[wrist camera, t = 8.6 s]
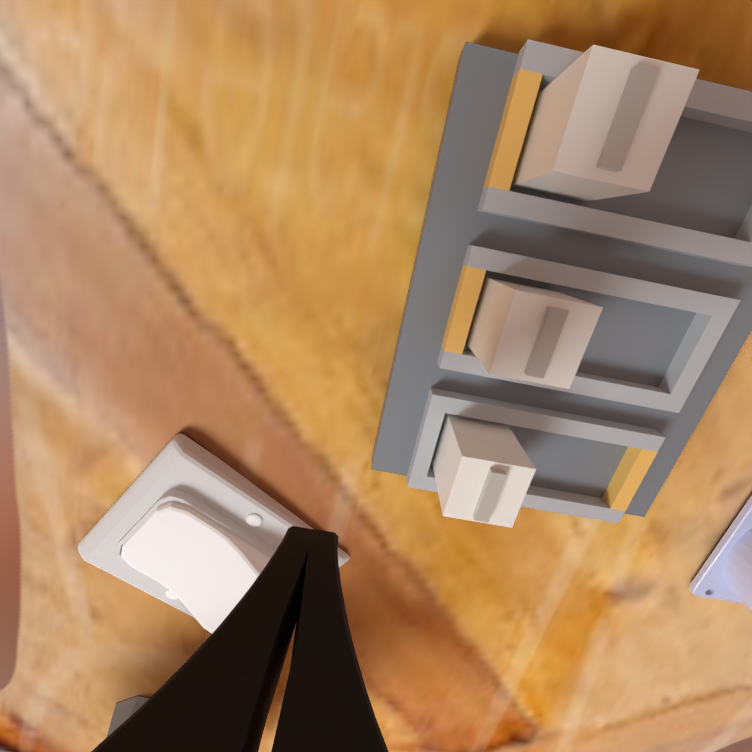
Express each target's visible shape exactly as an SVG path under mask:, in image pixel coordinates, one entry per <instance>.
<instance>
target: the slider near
mask: <svg viewBox="0 0 752 752" xmlns="http://www.w3.org/2000/svg"><path fill="white" fill-rule="evenodd" d="M699 70H700V69H695V68H691V67H687V66H683V65H678V64H674V63H670V62H666V61H661V60H657V59H653V58H648V57H644V56H640V55H636V54H631V53H627V52H623V51H619V50H614V49H610V48H606V47H602V46H597V45H592V46H591V47H590V48H589V49H588V50H586V51H585V52H584V53H583V54H582V55H581V56H580V57H579V58H578V59H576V60H575V61H574V62H573V63H572V64H571V65H570V66H569V67H568V68H567V69H565V70H564V71H563V72H562V73H561V74H560V75H559V76H558V77H557V78H555V79H554V80H553V81H552V82H551V83H550V84H549V85H548V86H547V87H545V88H544V89H543V90H542V91H541V92H540V93H539V95H538V98H537V102H536V105H535V109H534V112H533V116H532V119H531V122H530V126H529V129H528V133H527V136H526V140H525V143H524V147H523V150H522V153H521V157H520V160H519V164H518V167H517V171H516V174H515V178H514V181H513V185H512V186H516V187H521V188H526V189H530V190H535V191H540V192H544V193H549V194H554V195H558V196H563V197H568V198H572V199H577V200H582V201H592V200H599V199H605V198H612V197H618V196H625V195H631V194H638V193H644V192H649V191H650V189H651V186H652V184H653V182H654V179H655V177H656V174H657V172H658V170H659V167H660V165H661V162H662V160H663V157H664V155H665V153H666V150H667V148H668V145H669V143H670V140H671V138H672V136H673V133H674V131H675V128H676V126H677V123H678V121H679V119H680V116H681V114H682V111H683V109H684V107H685V104H686V102H687V99H688V97H689V94H690V92H691V90H692V87H693V85H694V82H695V80H696V77H697V75H698V73H699Z"/></svg>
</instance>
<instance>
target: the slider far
mask: <svg viewBox="0 0 752 752" xmlns="http://www.w3.org/2000/svg"><path fill="white" fill-rule="evenodd" d="M432 465H433V470H434V475H435V480H436V485H437V490H438V494H439V499H440V504H441V509H442V514H443V516H446V517H452V518H458V519H464V520H470V521H476V522H482V523H487V524H493V525H499V526H505V527H511V528H512V526H513V524H514V521H515V519H516V517H517V514H518V512H519V509H520V507H521V504H522V502H523V500H524V497H525V495H526V492H527V490H528V488H529V485H530V483H531V480H532V478H533V476H534V473H535V471H536V468H535V467H534V465H533V464H532V462H531V460H530V459H529V457H528V456H527V454H526V453H525V451H524V449H523V448H522V446H521V445H520V443H519V442H518V440H517V438H516V437H515V435H514V434H513V432H512V431H511V429H510V428H509V426H508V424H502V423H497V422H491V421H486V420H480V419H475V418H469V417H464V416H458V415H453V414H447V416H446V419H445V423H444V426H443V430H442V433H441V437H440V440H439V443H438V447H437V450H436V454H435V457H434V461H433V464H432Z"/></svg>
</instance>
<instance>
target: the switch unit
mask: <svg viewBox="0 0 752 752" xmlns="http://www.w3.org/2000/svg"><path fill="white" fill-rule="evenodd" d="M583 53H584V52H581V51H576V50H572V49H568V48H564V47H559V46H555V45H551V44H546V43H542V42H538V41H534V40H529V39H528V40H527V41H526V43H525V44H524V45H523V47H522V48H521V49H520V51H519V54H517V53H513V52H508V51H504V50H500V49H495V48H491V47H487V46H482V45H478V44H474V43H470V42H466V43H465V45H464V48H463V50H462V52H461V55H460V57H459V62H458V66H457V71H456V75H455V80H454V84H453V89H452V94H451V98H450V103H449V107H448V112H447V116H446V121H445V126H444V130H443V135H442V139H441V144H440V148H439V153H438V158H437V162H436V167H435V171H434V176H433V180H432V185H431V190H430V194H429V199H428V203H427V208H426V212H425V217H424V222H423V226H422V231H421V235H420V240H419V244H418V249H417V254H416V258H415V263H414V267H413V272H412V276H411V281H410V286H409V290H408V295H407V299H406V304H405V308H404V313H403V318H402V322H401V327H400V331H399V336H398V340H397V345H396V350H395V354H394V359H393V363H392V368H391V372H390V377H389V382H388V386H387V391H386V395H385V400H384V404H383V409H382V414H381V418H380V423H379V427H378V432H377V436H376V441H375V446H374V450H373V455H372V467H371V469H372V470H378V471H383V472H389V473H395V474H401V475H406V476H407V487H411V488H416V489H422V490H428V491H434V492H438V490H437V485H436V480H435V475H434V470H433V465H432V464H433V461H434V457H435V454H436V450H437V447H438V443H439V440H440V437H441V433H442V430H443V426H444V423H445V419H446V416H447V414H453V415H458V416H464V417H469V418H475V419H480V420H486V421H491V422H497V423H502V424H508V426H509V428H510V429H511V431H512V432H513V434H514V435H515V437H516V438H517V440H518V442H519V443H520V445H521V446H522V448H523V449H524V451H525V453H526V454H527V456H528V457H529V459H530V460H531V462H532V464H533V465H534V467H535V468H536V471H535V473H534V476H533V478H532V480H531V483H530V485H529V488H528V490H527V492H526V495H525V497H524V500H523V502H522V504H521V507H527V508H533V509H539V510H544V511H550V512H556V513H562V514H568V515H573V516H579V517H585V518H591V519H597V520H602V521H608V522H614V523H619V522H620V520H621V518H622V517H623V515H624V513H625V514H631V515H637V516H643V517H645V515H646V513H647V511H648V510H649V508H650V506H651V504H652V503H653V501H654V499H655V497H656V496H657V494H658V492H659V490H660V489H661V487H662V485H663V484H664V482H665V480H666V478H667V477H668V475H669V473H670V471H671V470H672V468H673V466H674V464H675V463H676V461H677V459H678V457H679V456H680V454H681V452H682V450H683V449H684V447H685V445H686V443H687V442H688V440H689V438H690V436H691V435H692V433H693V431H694V429H695V428H696V426H697V424H698V422H699V421H700V419H701V417H702V416H703V414H704V412H705V410H706V409H707V407H708V405H709V403H710V402H711V400H712V398H713V396H714V395H715V393H716V391H717V389H718V388H719V386H720V384H721V382H722V381H723V379H724V377H725V375H726V374H727V372H728V370H729V368H730V367H731V365H732V363H733V361H734V360H735V358H736V356H737V355H738V353H739V351H740V349H741V348H742V346H743V344H744V342H745V341H746V339H747V337H748V335H749V334H750V332H751V330H752V91H748V90H744V89H739V88H735V87H731V86H726V85H722V84H718V83H714V82H709V81H705V80H701V79H696V80H695V82H694V85H693V87H692V90H691V92H690V94H689V97H688V99H687V102H686V104H685V107H684V109H683V111H682V114H681V116H680V119H679V121H678V123H677V126H676V128H675V131H674V133H673V136H672V138H671V140H670V143H669V145H668V148H667V150H666V153H665V155H664V157H663V160H662V162H661V165H660V167H659V170H658V172H657V174H656V177H655V179H654V182H653V184H652V186H651V189H650V191H649V192H644V193H638V194H631V195H625V196H618V197H612V198H605V199H599V200H592V201H582V200H577V199H572V198H568V197H563V196H558V195H554V194H549V193H544V192H540V191H535V190H530V189H526V188H521V187H516V186H512V185H513V181H514V178H515V174H516V171H517V167H518V164H519V160H520V157H521V153H522V150H523V147H524V143H525V140H526V136H527V133H528V129H529V126H530V122H531V119H532V116H533V112H534V109H535V105H536V102H537V98H538V95H539V93H540V92H541V91H542V90H543V89H544V88H545V87H547V86H548V85H549V84H550V83H551V82H552V81H553V80H554V79H555V78H557V77H558V76H559V75H560V74H561V73H562V72H563V71H564V70H565V69H567V68H568V67H569V66H570V65H571V64H572V63H573V62H574V61H575V60H576V59H578V58H579V57H580V56H581V55H582V54H583ZM487 277H488V278H493V279H498V280H503V281H508V282H513V283H518V284H523V285H528V286H533V287H538V288H543V289H548V290H553V291H557V292H560V293H562V294H565V295H568V296H571V297H574V298H577V299H580V300H583V301H586V302H589V303H592V304H594V305H597V306H600V307H603V309H602V311H601V314H600V316H599V319H598V321H597V324H596V326H595V328H594V331H593V333H592V336H591V338H590V340H589V343H588V345H587V348H586V350H585V353H584V355H583V357H582V360H581V362H580V365H579V367H578V369H577V372H576V374H575V377H574V379H573V381H572V384H571V386H570V389H566V388H561V387H555V386H550V385H545V384H539V383H534V382H529V381H523V380H518V379H513V378H508V377H502V376H497V375H492V374H488V372H487V371H486V370H485V368H484V367H483V365H482V364H481V363H480V361H479V360H478V359H477V357H476V356H475V355H474V353H473V352H472V350H471V349H470V348H469V346H468V345H467V344H468V340H469V337H470V334H471V330H472V327H473V323H474V320H475V316H476V313H477V310H478V306H479V303H480V299H481V296H482V292H483V289H484V285H485V282H486V279H487Z"/></svg>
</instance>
